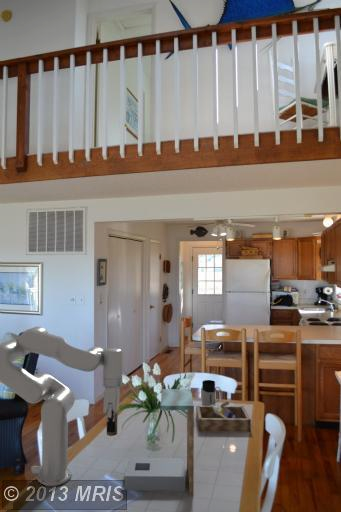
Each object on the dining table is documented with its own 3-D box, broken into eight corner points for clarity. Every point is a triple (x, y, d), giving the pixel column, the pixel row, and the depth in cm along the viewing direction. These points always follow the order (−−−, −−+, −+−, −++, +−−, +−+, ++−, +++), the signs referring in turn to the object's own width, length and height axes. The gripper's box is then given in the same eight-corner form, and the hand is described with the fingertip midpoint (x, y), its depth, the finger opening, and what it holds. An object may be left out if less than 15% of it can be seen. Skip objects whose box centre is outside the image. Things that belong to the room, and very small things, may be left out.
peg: (105, 435, 148) (106, 409, 148) (107, 431, 152) (107, 405, 152) (116, 435, 148) (116, 409, 148) (117, 431, 152) (118, 405, 152)
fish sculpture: (215, 392, 212) (217, 401, 197) (247, 409, 211) (252, 419, 196) (204, 412, 212) (206, 423, 197) (237, 430, 211) (241, 441, 196)
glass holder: (208, 403, 236) (208, 378, 237) (225, 410, 225) (225, 384, 226) (198, 406, 231) (198, 381, 231) (215, 413, 219) (215, 386, 220)
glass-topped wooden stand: (159, 495, 139) (160, 405, 140) (161, 467, 159) (161, 389, 160) (193, 495, 139) (193, 405, 140) (190, 467, 159) (190, 389, 160)
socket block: (124, 490, 142) (124, 476, 142) (128, 470, 156) (128, 457, 156) (184, 490, 142) (184, 476, 142) (183, 471, 156) (183, 458, 156)
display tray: (198, 431, 195) (198, 419, 195) (196, 416, 215) (196, 405, 215) (250, 431, 195) (250, 419, 195) (243, 417, 215) (243, 406, 215)
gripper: (106, 375, 159) (105, 421, 158) (98, 387, 142) (98, 438, 141) (124, 375, 159) (124, 421, 158) (119, 387, 142) (118, 438, 141)
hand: (111, 428), depth 150 cm, fingers closed on peg, 4 cm apart
